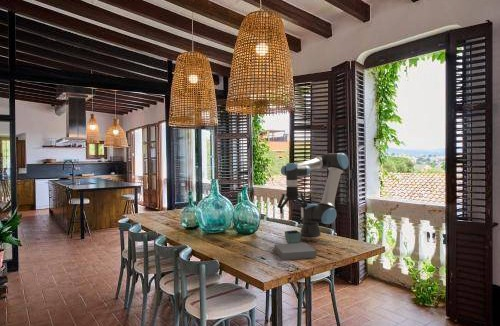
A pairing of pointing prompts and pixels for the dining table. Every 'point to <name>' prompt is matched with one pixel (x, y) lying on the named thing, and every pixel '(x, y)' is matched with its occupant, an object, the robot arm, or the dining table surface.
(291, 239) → the flower pot
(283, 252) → the plinth
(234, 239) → the dining table surface
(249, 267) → the dining table surface
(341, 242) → the dining table surface
